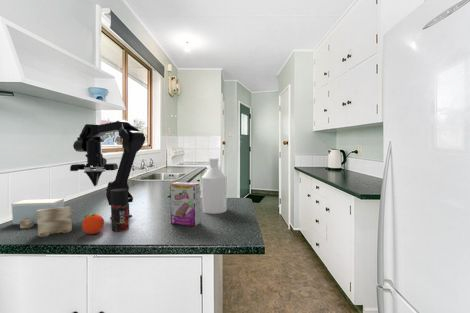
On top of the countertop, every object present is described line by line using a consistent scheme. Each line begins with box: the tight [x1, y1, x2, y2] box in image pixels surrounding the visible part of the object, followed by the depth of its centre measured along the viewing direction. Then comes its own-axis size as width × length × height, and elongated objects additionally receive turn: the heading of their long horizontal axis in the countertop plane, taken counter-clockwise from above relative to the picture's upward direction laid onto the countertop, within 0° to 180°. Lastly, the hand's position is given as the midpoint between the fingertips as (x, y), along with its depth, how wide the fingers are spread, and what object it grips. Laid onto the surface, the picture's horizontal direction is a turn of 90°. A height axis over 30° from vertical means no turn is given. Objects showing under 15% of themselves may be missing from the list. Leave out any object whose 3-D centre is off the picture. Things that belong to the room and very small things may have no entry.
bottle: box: [201, 157, 228, 215], centre depth 120 cm, size 12×12×25 cm
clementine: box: [81, 213, 105, 235], centre depth 91 cm, size 8×7×7 cm
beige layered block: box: [37, 205, 73, 238], centre depth 92 cm, size 10×5×9 cm, turn 126°
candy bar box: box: [169, 181, 201, 227], centre depth 101 cm, size 11×5×16 cm, turn 71°
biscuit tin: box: [11, 198, 65, 225], centre depth 106 cm, size 16×7×9 cm, turn 95°
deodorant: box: [110, 188, 130, 233], centre depth 95 cm, size 6×6×15 cm
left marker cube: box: [19, 218, 35, 229], centre depth 99 cm, size 3×3×3 cm
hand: (95, 185), depth 116 cm, fingers closed
